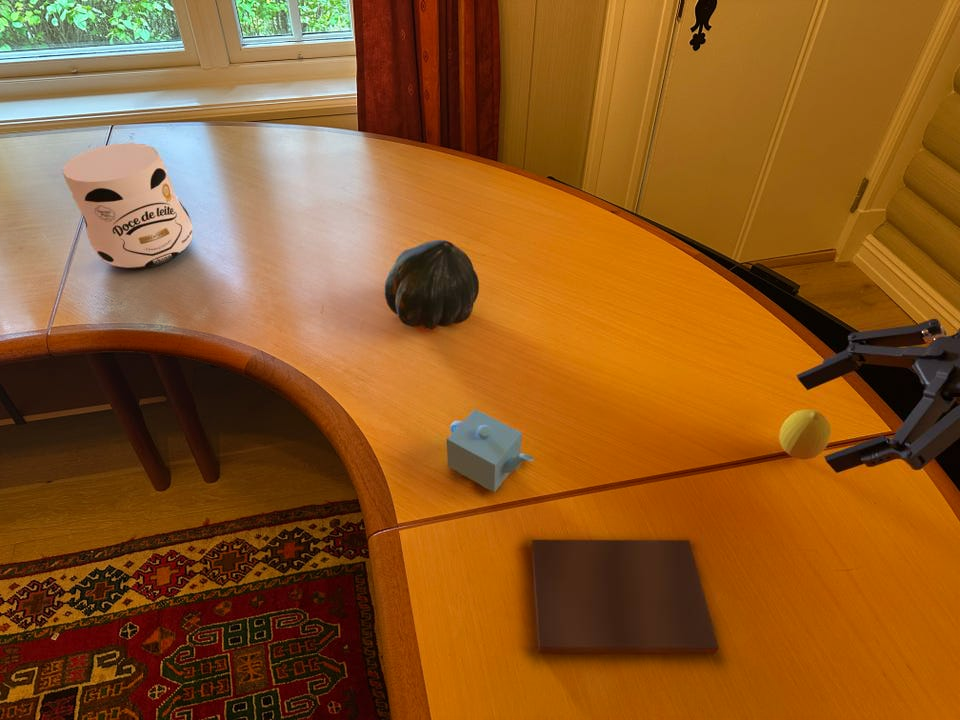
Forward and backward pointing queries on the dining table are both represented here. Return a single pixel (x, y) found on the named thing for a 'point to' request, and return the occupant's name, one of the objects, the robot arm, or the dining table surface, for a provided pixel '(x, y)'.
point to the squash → (432, 285)
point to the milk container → (128, 205)
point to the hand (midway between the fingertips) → (814, 421)
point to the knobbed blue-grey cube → (484, 449)
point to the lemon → (805, 434)
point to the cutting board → (619, 597)
